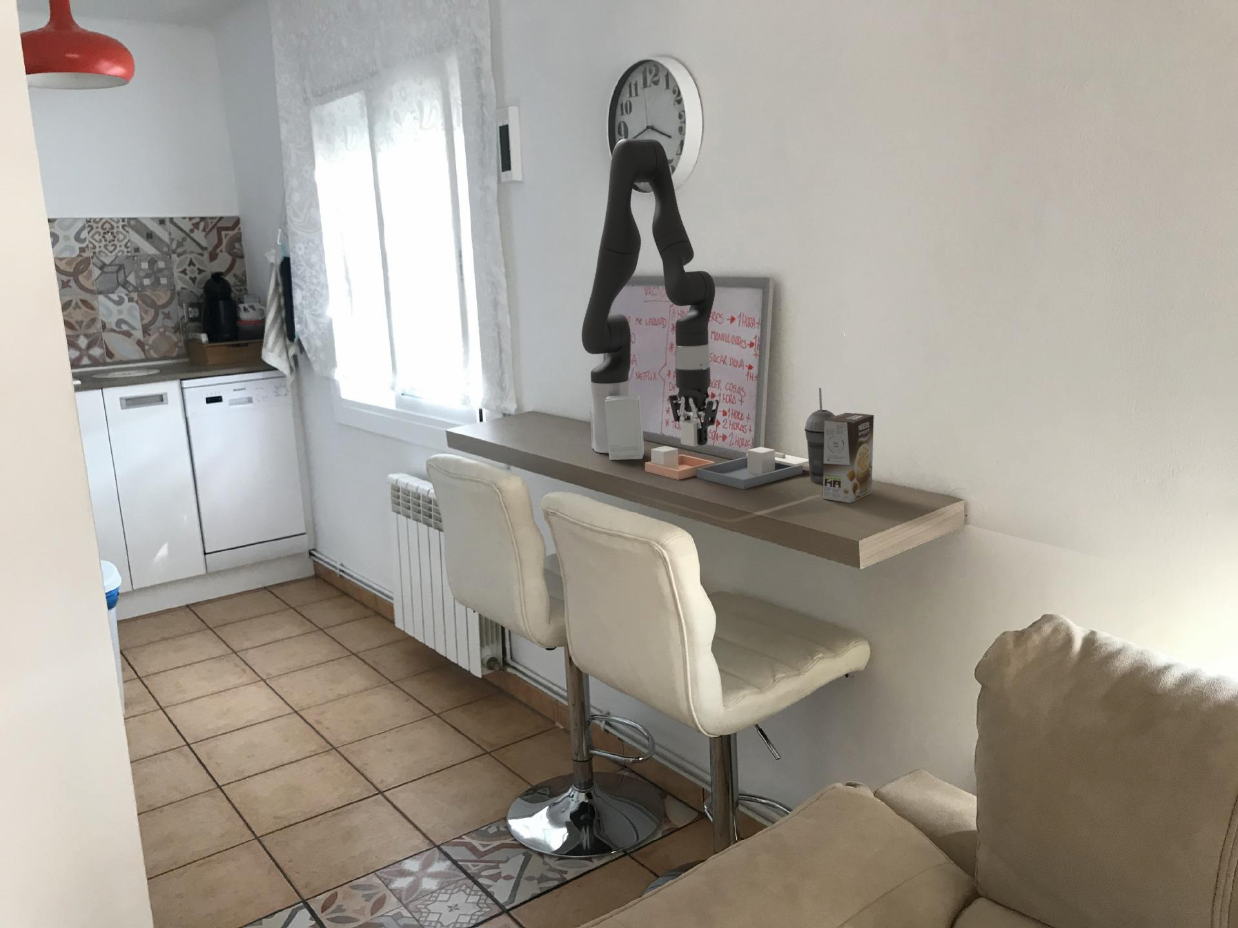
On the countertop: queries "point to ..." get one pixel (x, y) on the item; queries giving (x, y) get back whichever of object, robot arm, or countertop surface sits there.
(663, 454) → the white block
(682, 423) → the white cuboid
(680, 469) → the orange square tray
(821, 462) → the beverage cup
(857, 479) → the coffee box
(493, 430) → the countertop surface
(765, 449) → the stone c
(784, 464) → the blue-grey shallow rectangular tray
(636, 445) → the skincare box
